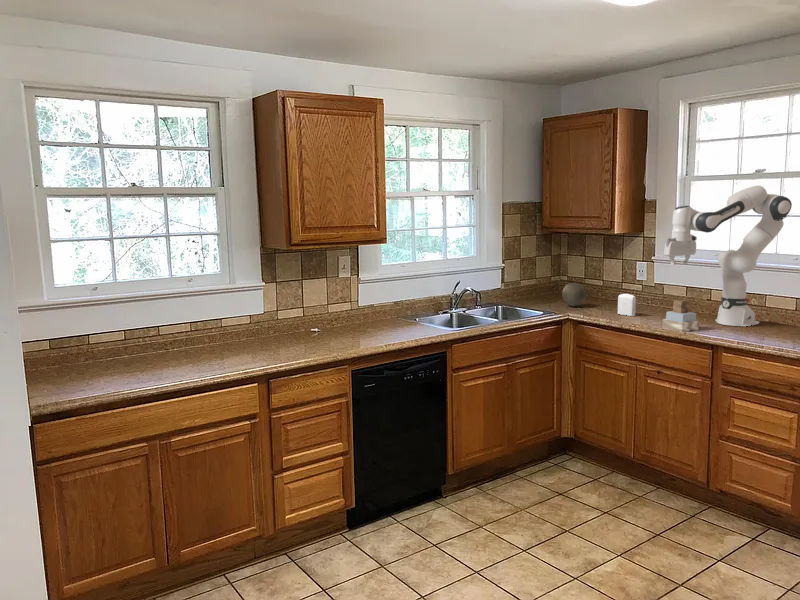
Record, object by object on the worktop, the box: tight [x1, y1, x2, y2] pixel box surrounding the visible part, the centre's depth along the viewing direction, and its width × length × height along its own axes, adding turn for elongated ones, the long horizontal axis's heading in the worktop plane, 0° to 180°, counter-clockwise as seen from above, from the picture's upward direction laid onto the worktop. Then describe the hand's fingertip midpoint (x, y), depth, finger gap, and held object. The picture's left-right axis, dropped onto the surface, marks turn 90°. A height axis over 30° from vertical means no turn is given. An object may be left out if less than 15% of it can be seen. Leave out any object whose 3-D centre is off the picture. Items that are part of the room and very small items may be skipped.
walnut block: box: [672, 299, 690, 313], centre depth 328 cm, size 5×5×6 cm
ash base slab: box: [662, 318, 700, 333], centre depth 329 cm, size 12×12×5 cm
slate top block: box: [665, 310, 697, 323], centre depth 328 cm, size 10×10×4 cm
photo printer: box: [617, 293, 637, 317], centre depth 368 cm, size 10×4×12 cm, turn 39°
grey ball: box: [561, 282, 587, 308], centre depth 398 cm, size 14×14×15 cm
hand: (679, 264), depth 333 cm, fingers open, 8 cm apart
